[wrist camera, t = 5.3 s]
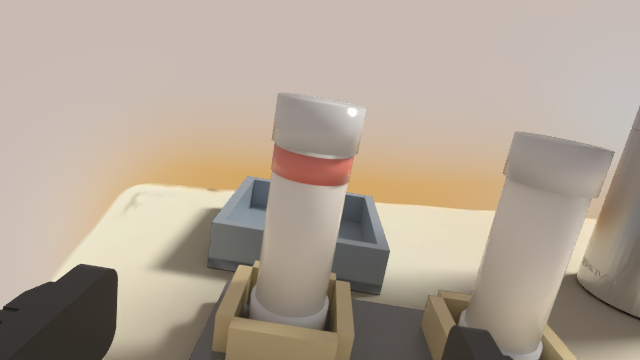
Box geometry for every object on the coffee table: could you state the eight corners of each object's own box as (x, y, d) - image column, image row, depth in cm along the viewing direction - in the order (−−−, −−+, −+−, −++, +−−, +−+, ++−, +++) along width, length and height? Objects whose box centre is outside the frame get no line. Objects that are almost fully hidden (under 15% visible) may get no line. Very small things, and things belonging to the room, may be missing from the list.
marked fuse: (323, 313, 23) (362, 104, 20) (321, 361, 19) (370, 113, 16) (254, 302, 23) (283, 91, 20) (239, 349, 19) (271, 96, 16)
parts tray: (365, 228, 41) (372, 196, 40) (379, 294, 29) (389, 250, 28) (243, 208, 41) (247, 175, 40) (207, 267, 29) (211, 222, 28)
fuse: (510, 343, 23) (579, 141, 20) (546, 397, 19) (637, 158, 16) (442, 332, 23) (501, 127, 20) (464, 384, 19) (541, 141, 16)
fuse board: (520, 347, 26) (537, 299, 25) (601, 466, 18) (630, 403, 17) (226, 300, 25) (231, 250, 24) (180, 400, 18) (186, 333, 17)
